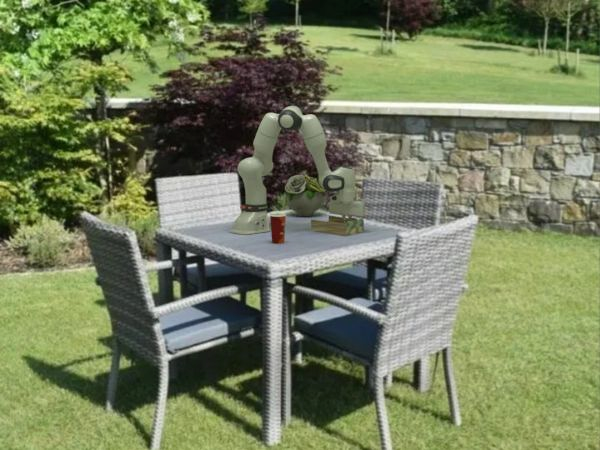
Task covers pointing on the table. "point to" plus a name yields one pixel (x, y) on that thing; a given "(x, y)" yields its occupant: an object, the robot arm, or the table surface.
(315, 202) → the flower arrangement
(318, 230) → the trap track
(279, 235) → the coffee cup
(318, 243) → the table surface
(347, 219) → the walnut block
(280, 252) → the table surface
